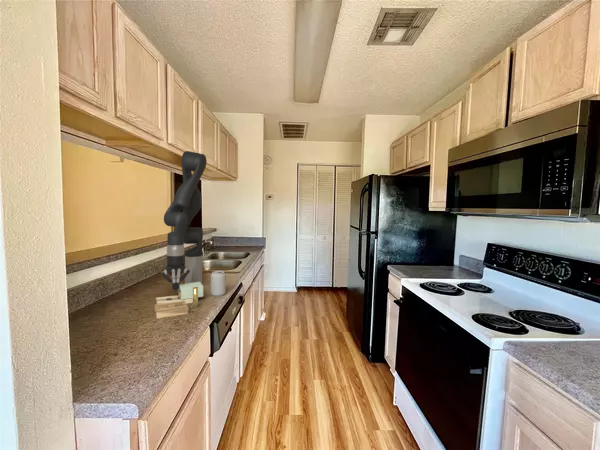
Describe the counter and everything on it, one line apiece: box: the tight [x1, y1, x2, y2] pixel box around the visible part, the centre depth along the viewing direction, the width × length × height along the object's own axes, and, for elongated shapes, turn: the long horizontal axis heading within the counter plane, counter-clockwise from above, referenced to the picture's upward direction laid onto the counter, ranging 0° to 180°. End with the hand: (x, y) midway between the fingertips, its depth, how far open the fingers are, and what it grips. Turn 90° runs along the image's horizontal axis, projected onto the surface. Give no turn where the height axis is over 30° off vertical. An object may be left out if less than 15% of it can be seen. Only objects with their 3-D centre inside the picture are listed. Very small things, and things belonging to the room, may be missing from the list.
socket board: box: [154, 301, 189, 320], centre depth 120 cm, size 10×12×2 cm
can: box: [210, 270, 227, 297], centre depth 145 cm, size 8×8×12 cm
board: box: [155, 292, 193, 305], centre depth 132 cm, size 10×15×4 cm, turn 122°
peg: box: [192, 287, 199, 309], centre depth 125 cm, size 2×2×9 cm
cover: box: [177, 282, 204, 300], centre depth 136 cm, size 8×10×5 cm
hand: (175, 290), depth 132 cm, fingers closed
